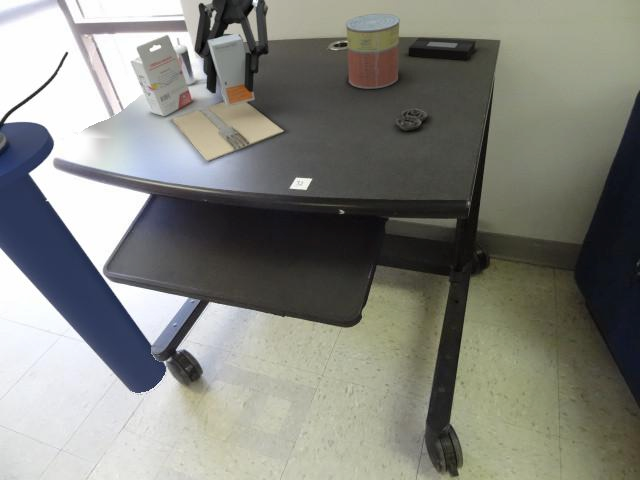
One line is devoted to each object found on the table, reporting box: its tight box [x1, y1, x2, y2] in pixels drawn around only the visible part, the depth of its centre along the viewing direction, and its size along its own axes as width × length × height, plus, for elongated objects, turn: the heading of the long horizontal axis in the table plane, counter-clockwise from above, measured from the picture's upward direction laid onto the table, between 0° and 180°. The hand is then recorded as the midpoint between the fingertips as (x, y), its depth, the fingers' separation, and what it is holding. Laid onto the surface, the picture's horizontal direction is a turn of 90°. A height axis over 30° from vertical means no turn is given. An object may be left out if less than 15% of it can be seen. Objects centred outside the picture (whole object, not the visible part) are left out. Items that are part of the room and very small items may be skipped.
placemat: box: [171, 101, 285, 162], centre depth 82 cm, size 22×16×1 cm
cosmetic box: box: [208, 33, 256, 107], centre depth 79 cm, size 6×4×12 cm
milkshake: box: [173, 37, 196, 86], centre depth 99 cm, size 4×5×10 cm
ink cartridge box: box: [129, 34, 193, 117], centre depth 87 cm, size 9×5×15 cm, turn 143°
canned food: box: [345, 13, 401, 90], centre depth 88 cm, size 11×11×12 cm
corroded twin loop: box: [395, 107, 428, 132], centre depth 75 cm, size 5×8×1 cm, turn 151°
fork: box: [199, 106, 249, 150], centre depth 81 cm, size 21×3×1 cm, turn 32°
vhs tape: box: [408, 37, 476, 61], centre depth 99 cm, size 8×14×2 cm, turn 61°
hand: (229, 89), depth 78 cm, fingers closed on cosmetic box, 7 cm apart
